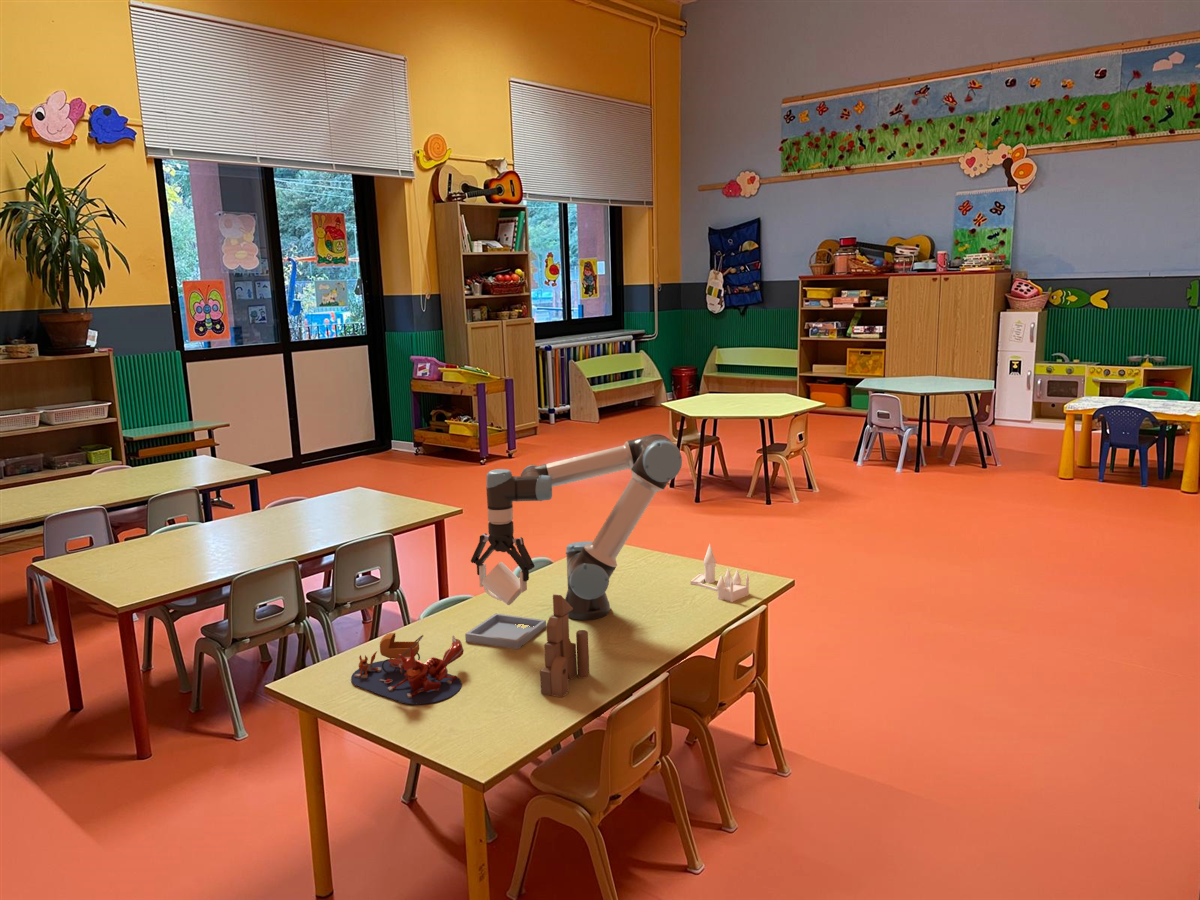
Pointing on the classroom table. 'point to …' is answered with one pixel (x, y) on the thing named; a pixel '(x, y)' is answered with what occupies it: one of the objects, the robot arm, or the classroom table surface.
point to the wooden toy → (562, 652)
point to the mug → (502, 584)
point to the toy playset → (409, 673)
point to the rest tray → (505, 631)
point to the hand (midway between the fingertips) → (503, 589)
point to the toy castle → (721, 580)
